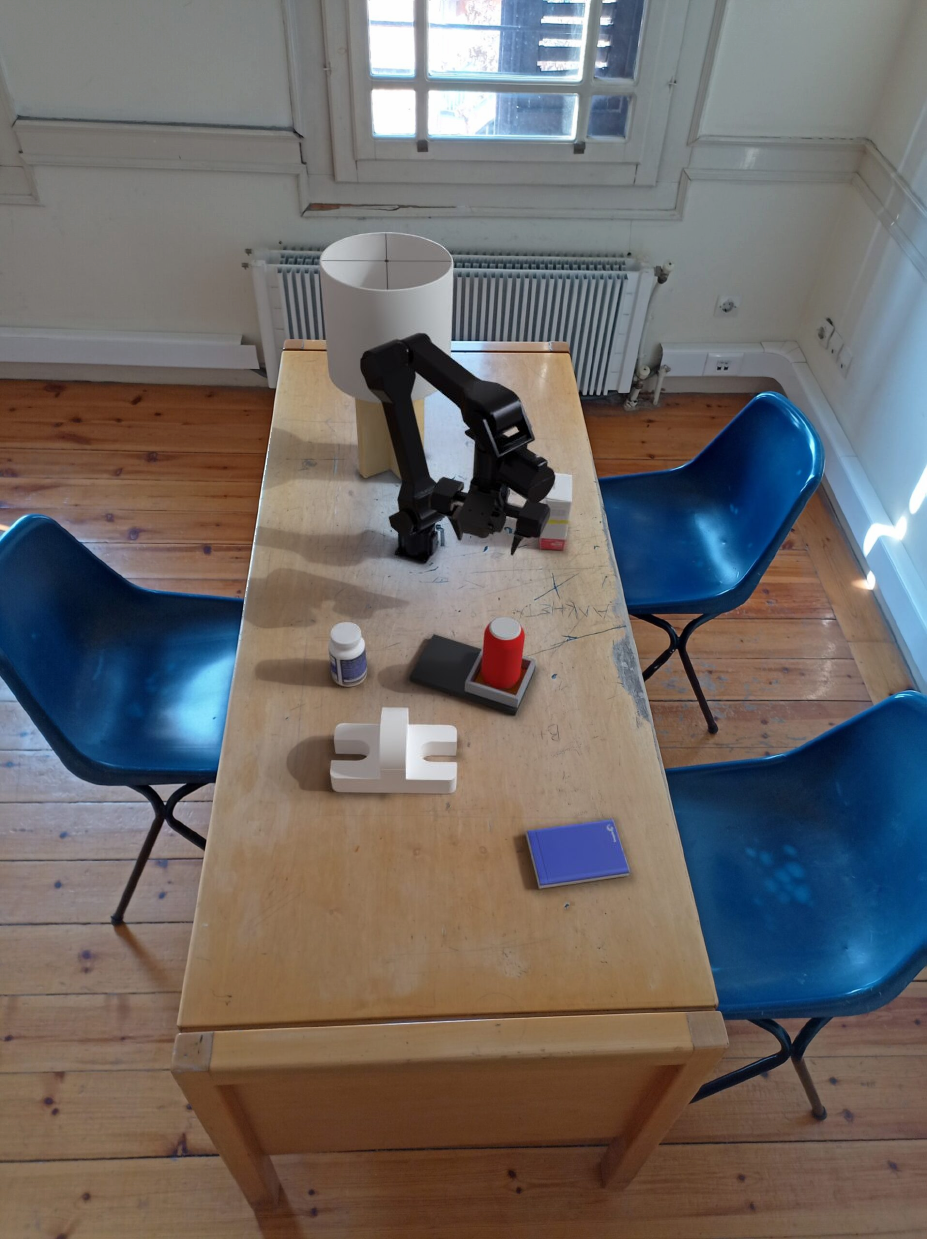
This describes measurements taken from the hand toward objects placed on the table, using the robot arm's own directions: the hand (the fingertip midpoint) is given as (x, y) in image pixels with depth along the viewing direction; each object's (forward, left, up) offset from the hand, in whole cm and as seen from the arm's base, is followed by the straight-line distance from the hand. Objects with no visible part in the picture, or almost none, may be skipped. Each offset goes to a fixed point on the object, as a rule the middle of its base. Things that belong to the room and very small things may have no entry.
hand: (486, 546), depth 142 cm
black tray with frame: (+4, -16, -13) cm, 21 cm away
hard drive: (+29, -41, -13) cm, 52 cm away
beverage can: (+9, -16, -12) cm, 22 cm away
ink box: (+6, +22, -13) cm, 26 cm away
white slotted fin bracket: (0, -37, -13) cm, 39 cm away
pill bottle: (-14, -24, -13) cm, 31 cm away
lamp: (-31, +30, -13) cm, 45 cm away
